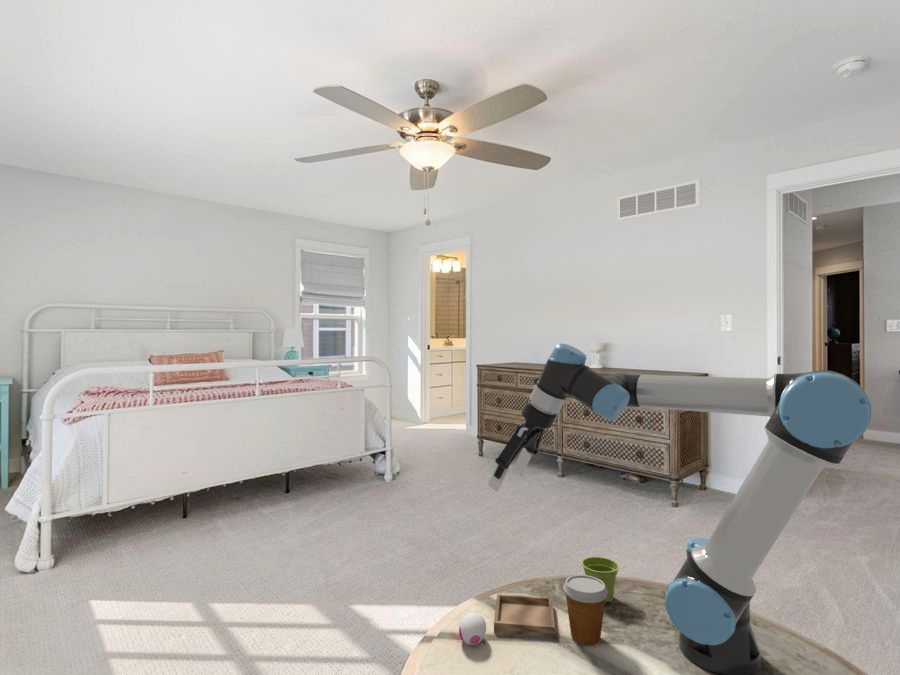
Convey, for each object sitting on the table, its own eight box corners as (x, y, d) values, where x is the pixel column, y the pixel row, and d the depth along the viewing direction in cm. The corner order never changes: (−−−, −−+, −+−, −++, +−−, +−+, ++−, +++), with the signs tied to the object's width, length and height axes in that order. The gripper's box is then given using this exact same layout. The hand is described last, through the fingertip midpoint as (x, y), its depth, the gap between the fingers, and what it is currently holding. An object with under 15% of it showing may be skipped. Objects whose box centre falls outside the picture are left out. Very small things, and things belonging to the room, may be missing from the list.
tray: (551, 606, 125) (551, 597, 125) (555, 637, 111) (555, 627, 111) (497, 602, 127) (497, 593, 127) (493, 632, 113) (493, 622, 113)
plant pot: (579, 602, 126) (579, 568, 127) (584, 586, 135) (584, 554, 135) (618, 610, 123) (617, 574, 123) (620, 593, 132) (620, 559, 132)
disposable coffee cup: (610, 653, 105) (609, 595, 106) (564, 647, 107) (563, 591, 108) (605, 628, 115) (605, 575, 115) (563, 624, 117) (562, 572, 117)
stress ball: (466, 646, 113) (450, 619, 115) (495, 628, 113) (479, 602, 114) (461, 665, 106) (443, 637, 107) (492, 647, 105) (474, 618, 106)
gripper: (548, 391, 129) (514, 458, 135) (506, 405, 108) (468, 484, 113) (573, 406, 125) (537, 475, 131) (535, 425, 104) (494, 505, 110)
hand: (505, 479), depth 122 cm, fingers open, 13 cm apart
